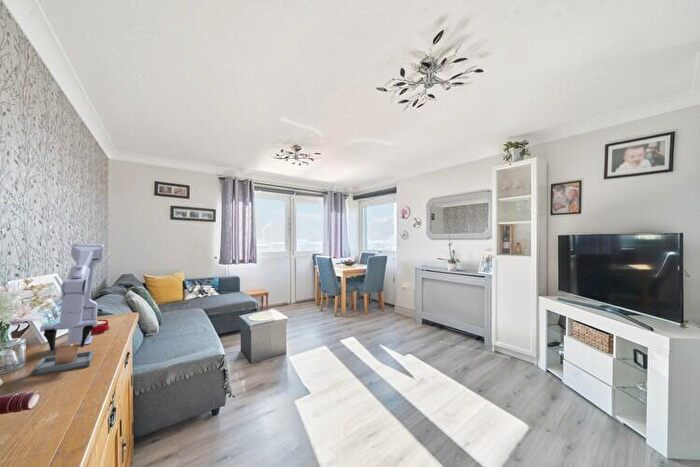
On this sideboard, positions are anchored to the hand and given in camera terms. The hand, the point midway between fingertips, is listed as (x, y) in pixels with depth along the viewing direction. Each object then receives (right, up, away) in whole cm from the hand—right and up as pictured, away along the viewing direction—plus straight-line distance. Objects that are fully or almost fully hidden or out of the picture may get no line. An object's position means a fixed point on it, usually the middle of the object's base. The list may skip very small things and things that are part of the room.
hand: (67, 348), depth 98 cm
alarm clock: (-22, -6, +33) cm, 40 cm away
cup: (0, -5, 0) cm, 5 cm away
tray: (0, -6, 0) cm, 6 cm away
